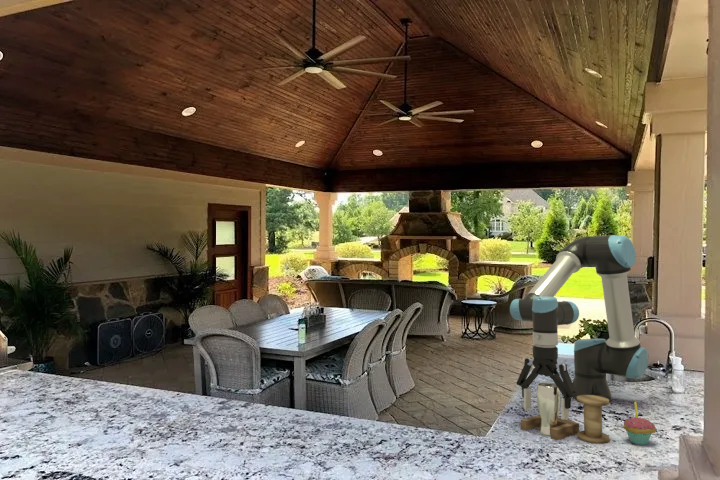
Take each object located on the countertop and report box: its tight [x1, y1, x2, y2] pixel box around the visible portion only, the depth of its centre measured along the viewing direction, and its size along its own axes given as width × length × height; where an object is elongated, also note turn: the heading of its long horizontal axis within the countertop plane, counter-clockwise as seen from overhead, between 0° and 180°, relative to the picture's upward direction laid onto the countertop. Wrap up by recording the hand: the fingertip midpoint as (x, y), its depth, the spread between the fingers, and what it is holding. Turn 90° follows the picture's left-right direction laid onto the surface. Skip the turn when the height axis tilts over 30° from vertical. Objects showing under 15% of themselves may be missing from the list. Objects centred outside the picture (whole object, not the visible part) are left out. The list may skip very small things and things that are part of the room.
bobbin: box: [576, 395, 611, 445], centre depth 163 cm, size 9×9×12 cm
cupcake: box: [623, 400, 656, 446], centre depth 160 cm, size 9×8×12 cm
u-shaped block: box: [520, 414, 580, 441], centre depth 169 cm, size 12×13×3 cm
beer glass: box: [536, 382, 561, 437], centre depth 168 cm, size 7×7×15 cm
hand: (545, 413), depth 168 cm, fingers open, 13 cm apart
